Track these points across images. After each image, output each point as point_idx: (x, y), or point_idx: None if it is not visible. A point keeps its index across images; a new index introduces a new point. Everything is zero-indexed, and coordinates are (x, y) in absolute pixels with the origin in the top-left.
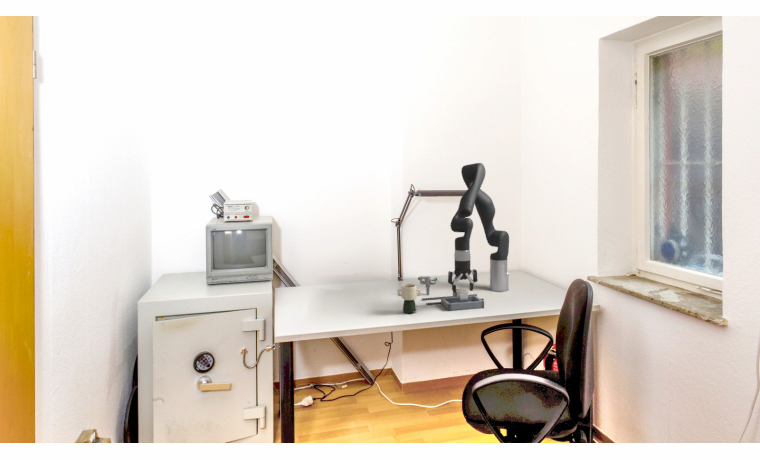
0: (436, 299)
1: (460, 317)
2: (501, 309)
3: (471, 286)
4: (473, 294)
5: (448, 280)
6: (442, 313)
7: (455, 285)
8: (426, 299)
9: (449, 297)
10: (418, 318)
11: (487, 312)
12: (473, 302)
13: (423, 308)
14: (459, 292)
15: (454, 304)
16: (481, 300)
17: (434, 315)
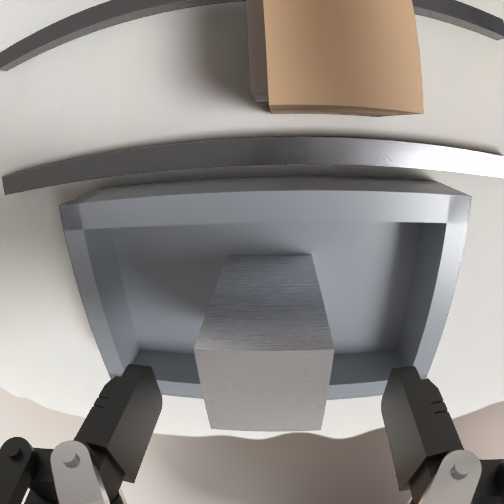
0: (96, 29)
1: (190, 434)
2: (471, 373)
3: (394, 457)
4: (484, 15)
5: (1, 475)
6: (99, 365)
7: (127, 479)
8: (22, 58)
9: (142, 200)
10: (16, 373)
11: (373, 410)
12: (331, 398)
13: (2, 246)
14: (209, 405)
15: (161, 390)
16: (421, 368)
17: (65, 372)
